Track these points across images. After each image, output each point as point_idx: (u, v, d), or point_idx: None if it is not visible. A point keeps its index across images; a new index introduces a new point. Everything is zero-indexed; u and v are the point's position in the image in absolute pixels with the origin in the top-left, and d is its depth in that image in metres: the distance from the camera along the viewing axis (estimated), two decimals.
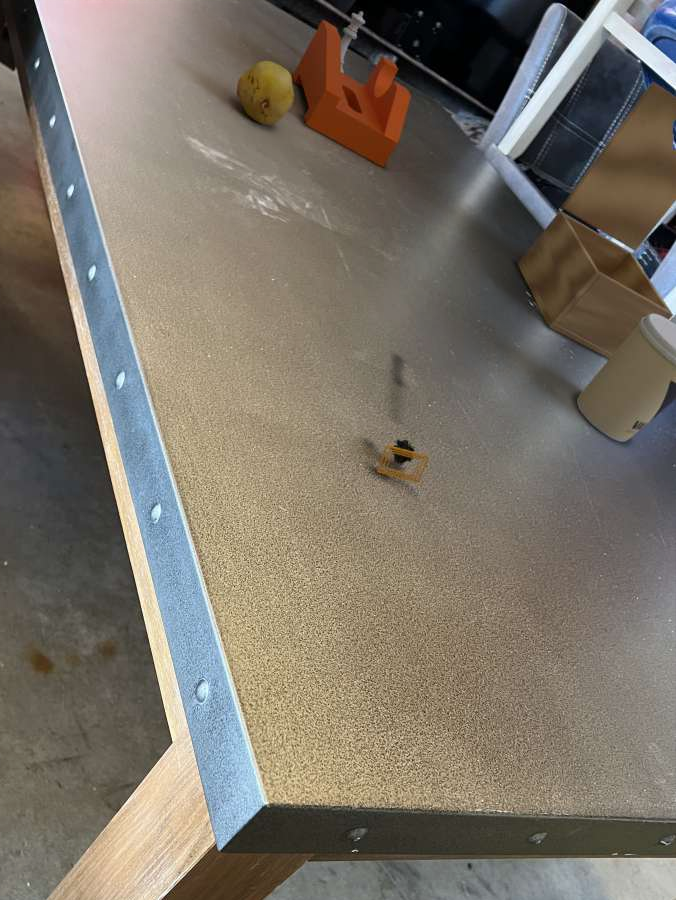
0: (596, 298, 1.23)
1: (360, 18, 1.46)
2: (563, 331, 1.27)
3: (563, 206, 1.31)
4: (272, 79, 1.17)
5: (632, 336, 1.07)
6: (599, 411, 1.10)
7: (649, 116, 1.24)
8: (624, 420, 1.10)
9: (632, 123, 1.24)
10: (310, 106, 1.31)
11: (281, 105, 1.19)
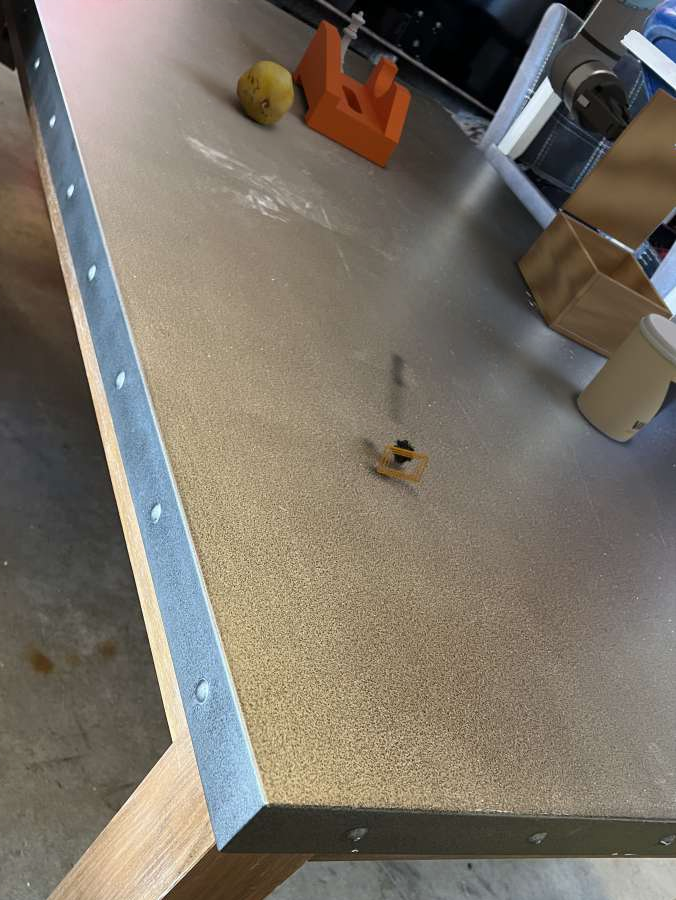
0: (596, 298, 1.23)
1: (360, 18, 1.46)
2: (563, 331, 1.27)
3: (563, 206, 1.31)
4: (272, 79, 1.17)
5: (632, 336, 1.07)
6: (599, 411, 1.10)
7: (654, 122, 1.23)
8: (624, 420, 1.10)
9: (636, 128, 1.23)
10: (310, 106, 1.31)
11: (281, 105, 1.19)
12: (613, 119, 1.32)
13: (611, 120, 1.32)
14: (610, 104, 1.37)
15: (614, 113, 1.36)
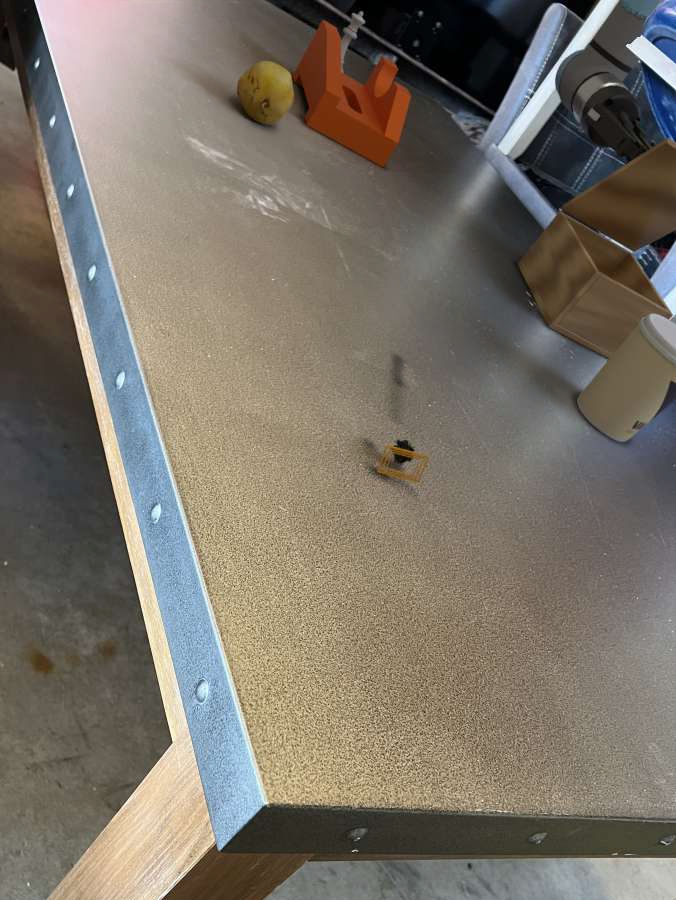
0: (596, 298, 1.23)
1: (360, 18, 1.46)
2: (563, 331, 1.27)
3: (563, 207, 1.31)
4: (272, 79, 1.17)
5: (632, 336, 1.07)
6: (599, 411, 1.10)
7: (659, 165, 1.19)
8: (624, 420, 1.10)
9: (639, 166, 1.20)
10: (310, 106, 1.31)
11: (281, 105, 1.19)
12: (625, 134, 1.28)
13: (623, 135, 1.29)
14: (621, 118, 1.34)
15: (625, 127, 1.32)
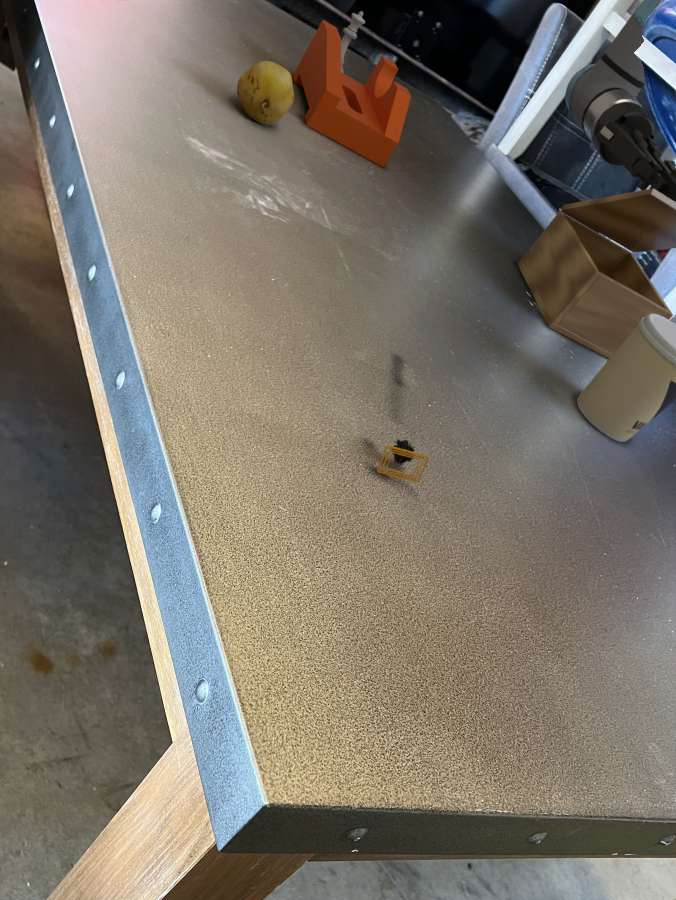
0: (596, 298, 1.23)
1: (360, 18, 1.46)
2: (563, 331, 1.27)
3: (562, 208, 1.31)
4: (272, 79, 1.17)
5: (632, 336, 1.07)
6: (599, 411, 1.10)
7: (645, 206, 1.19)
8: (624, 420, 1.10)
9: (627, 202, 1.20)
10: (310, 106, 1.31)
11: (281, 105, 1.19)
12: (639, 153, 1.24)
13: (637, 154, 1.25)
14: (635, 136, 1.30)
15: (639, 146, 1.28)
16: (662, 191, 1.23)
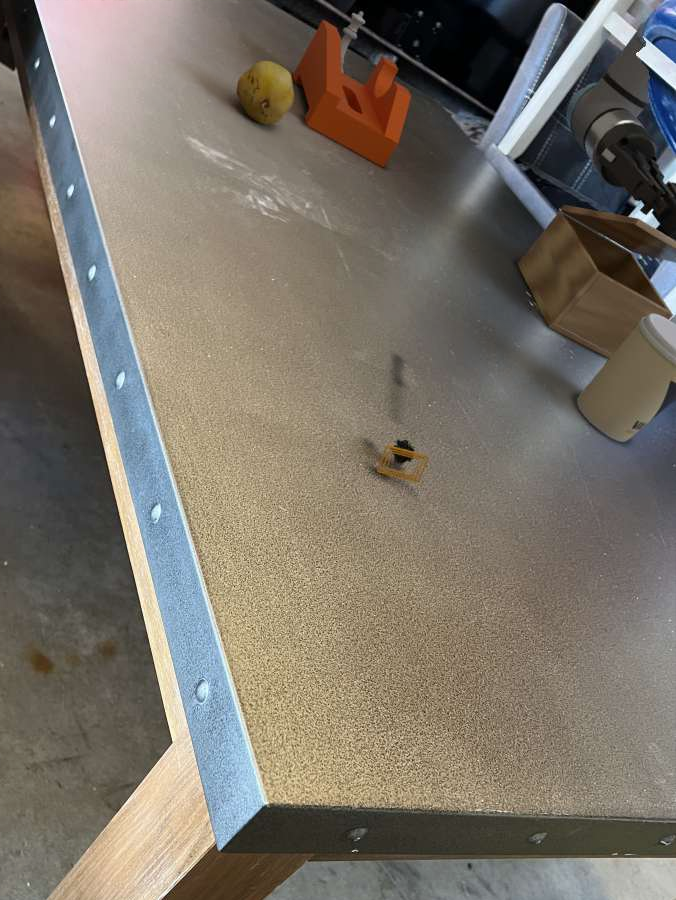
0: (596, 298, 1.23)
1: (360, 18, 1.46)
2: (563, 331, 1.27)
3: (562, 208, 1.31)
4: (272, 79, 1.17)
5: (632, 336, 1.07)
6: (599, 411, 1.10)
7: (633, 229, 1.20)
8: (624, 420, 1.10)
9: (616, 223, 1.21)
10: (310, 106, 1.31)
11: (281, 105, 1.19)
12: (641, 177, 1.23)
13: (639, 178, 1.23)
14: (637, 158, 1.28)
15: (642, 169, 1.26)
16: (665, 216, 1.21)
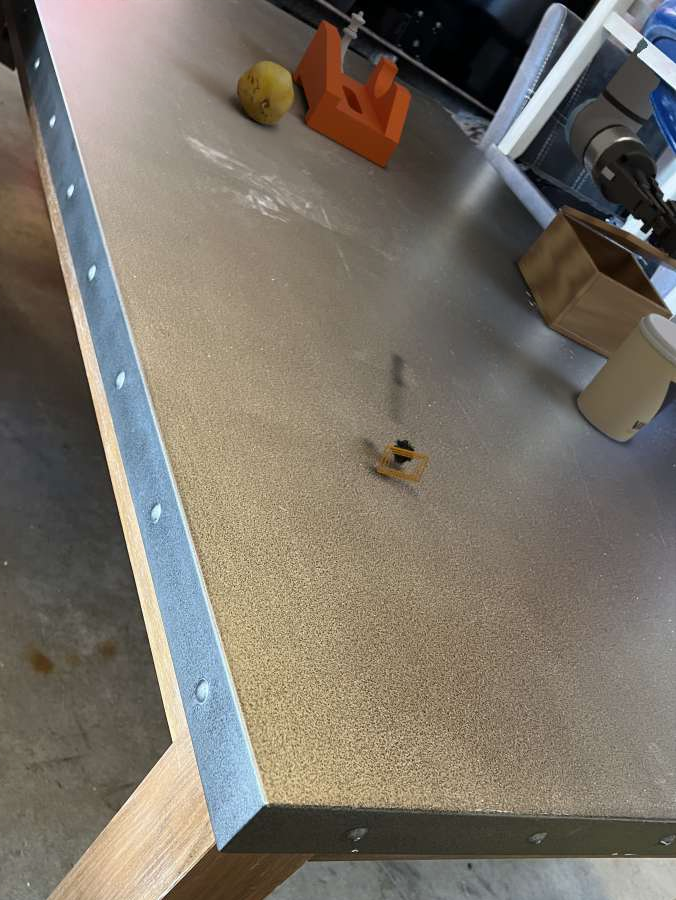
0: (596, 298, 1.23)
1: (360, 18, 1.46)
2: (563, 331, 1.27)
3: (562, 208, 1.31)
4: (272, 79, 1.17)
5: (632, 336, 1.07)
6: (599, 411, 1.10)
7: (626, 241, 1.21)
8: (624, 420, 1.10)
9: (610, 233, 1.22)
10: (310, 106, 1.31)
11: (281, 105, 1.19)
12: (641, 196, 1.21)
13: (639, 197, 1.22)
14: (637, 176, 1.27)
15: (641, 187, 1.25)
16: (665, 235, 1.20)
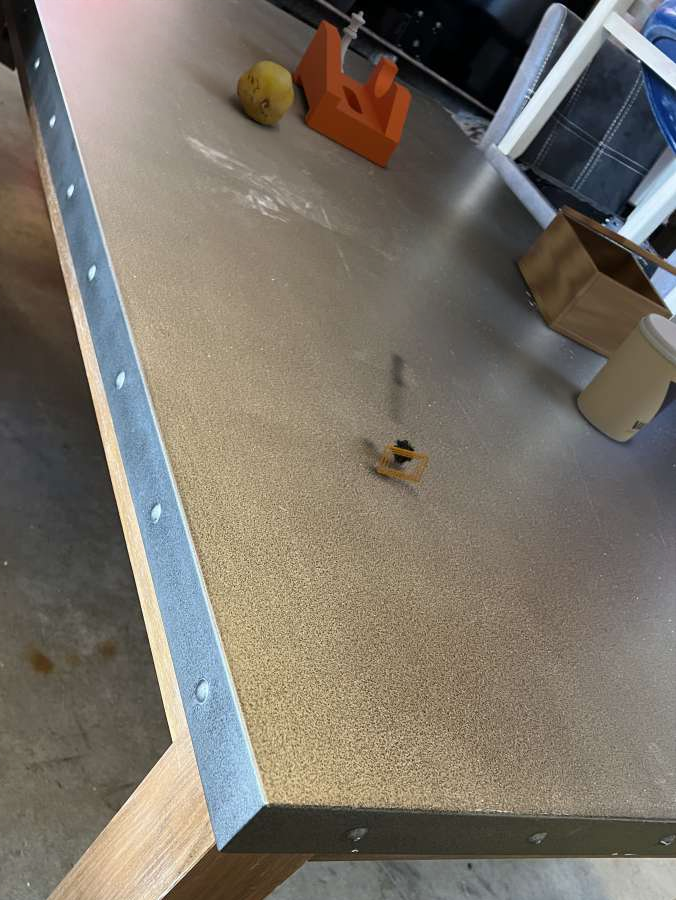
0: (596, 298, 1.23)
1: (360, 18, 1.46)
2: (563, 331, 1.27)
3: (562, 208, 1.31)
4: (272, 79, 1.17)
5: (632, 336, 1.07)
6: (599, 411, 1.10)
7: (623, 245, 1.21)
8: (624, 420, 1.10)
9: (608, 236, 1.22)
10: (311, 106, 1.31)
11: (281, 105, 1.19)
12: None
13: None
14: None
15: None
16: None
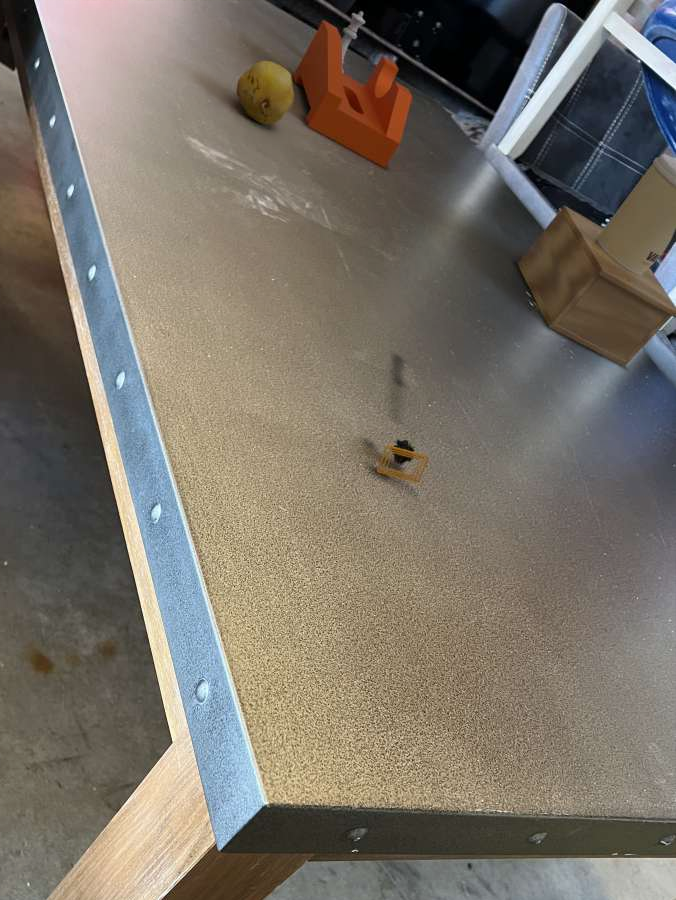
0: (596, 298, 1.23)
1: (360, 18, 1.46)
2: (563, 331, 1.27)
3: (561, 209, 1.31)
4: (272, 79, 1.17)
5: (647, 173, 1.21)
6: (617, 244, 1.24)
7: None
8: (640, 251, 1.24)
9: None
10: (312, 107, 1.31)
11: (281, 105, 1.19)
12: None
13: None
14: None
15: None
16: None
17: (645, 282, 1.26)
